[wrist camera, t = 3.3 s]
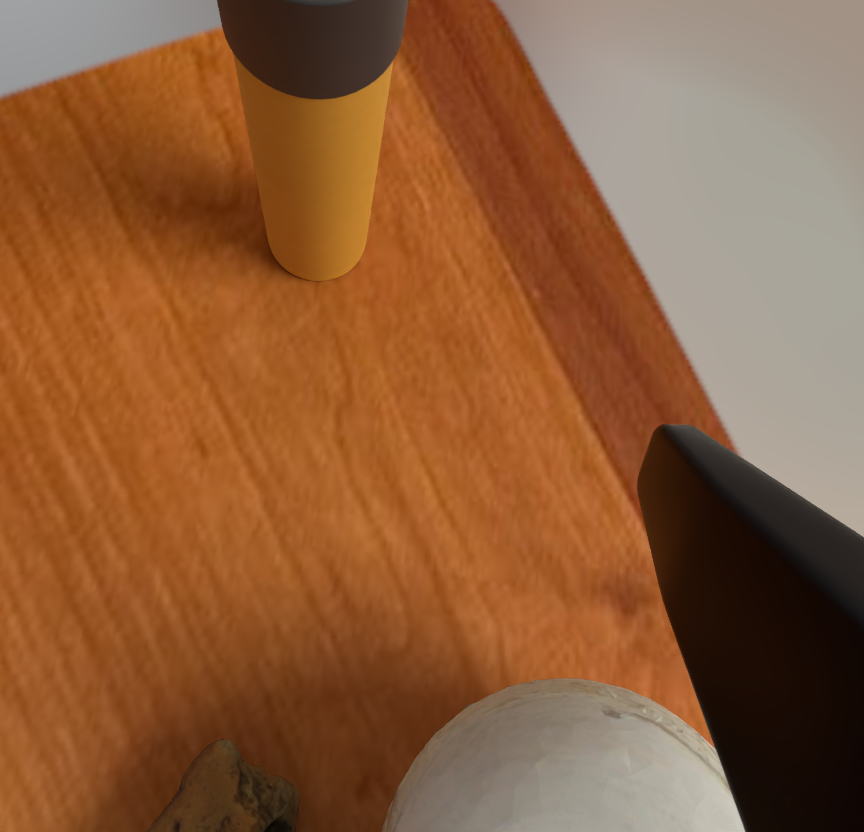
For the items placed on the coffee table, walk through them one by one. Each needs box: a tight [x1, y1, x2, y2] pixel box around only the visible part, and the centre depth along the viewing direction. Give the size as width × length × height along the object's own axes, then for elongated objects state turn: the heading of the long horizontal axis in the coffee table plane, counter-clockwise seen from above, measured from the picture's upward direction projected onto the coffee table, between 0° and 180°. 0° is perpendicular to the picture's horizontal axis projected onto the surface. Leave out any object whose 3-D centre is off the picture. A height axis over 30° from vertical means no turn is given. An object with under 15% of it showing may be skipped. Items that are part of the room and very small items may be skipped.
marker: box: [217, 0, 408, 281], centre depth 17 cm, size 3×3×12 cm
